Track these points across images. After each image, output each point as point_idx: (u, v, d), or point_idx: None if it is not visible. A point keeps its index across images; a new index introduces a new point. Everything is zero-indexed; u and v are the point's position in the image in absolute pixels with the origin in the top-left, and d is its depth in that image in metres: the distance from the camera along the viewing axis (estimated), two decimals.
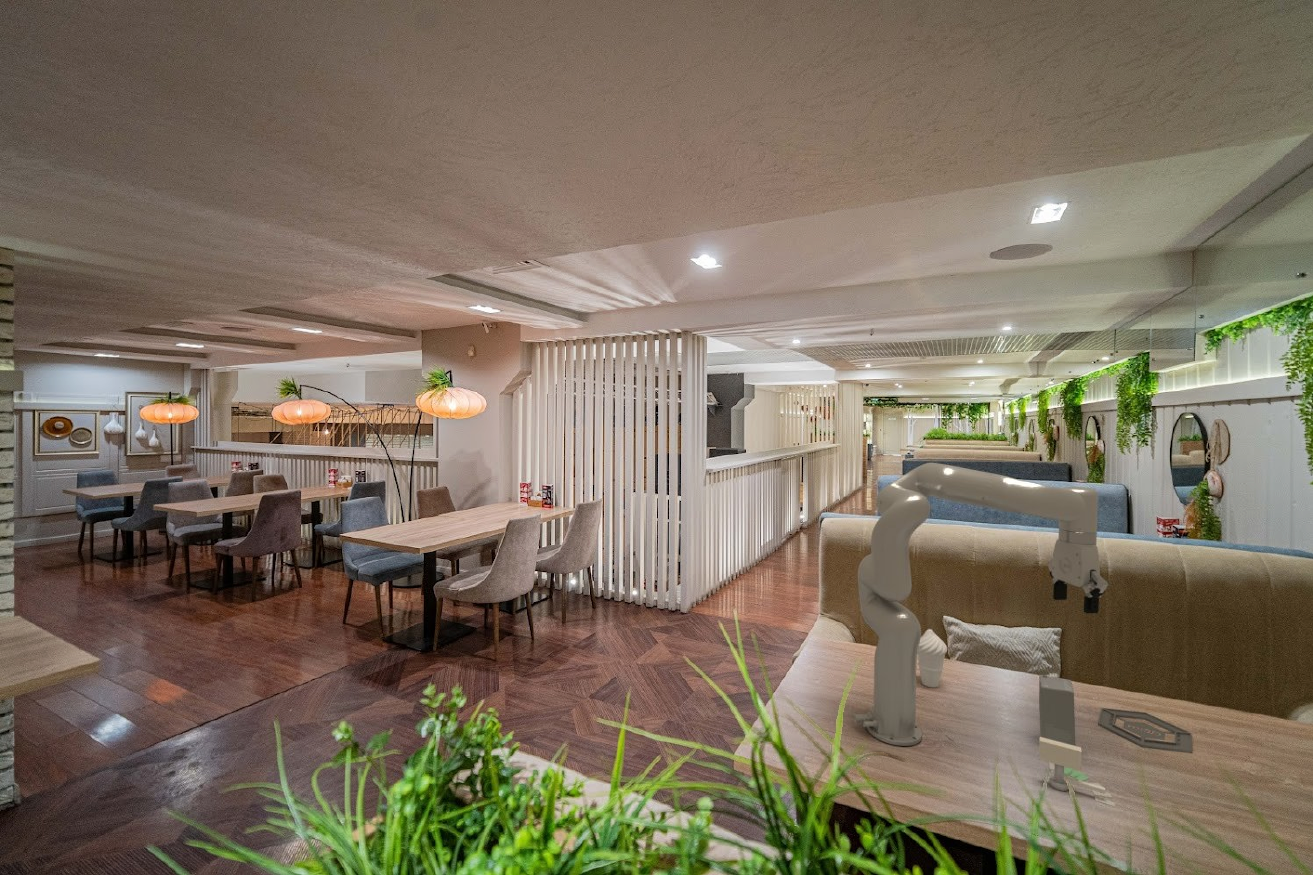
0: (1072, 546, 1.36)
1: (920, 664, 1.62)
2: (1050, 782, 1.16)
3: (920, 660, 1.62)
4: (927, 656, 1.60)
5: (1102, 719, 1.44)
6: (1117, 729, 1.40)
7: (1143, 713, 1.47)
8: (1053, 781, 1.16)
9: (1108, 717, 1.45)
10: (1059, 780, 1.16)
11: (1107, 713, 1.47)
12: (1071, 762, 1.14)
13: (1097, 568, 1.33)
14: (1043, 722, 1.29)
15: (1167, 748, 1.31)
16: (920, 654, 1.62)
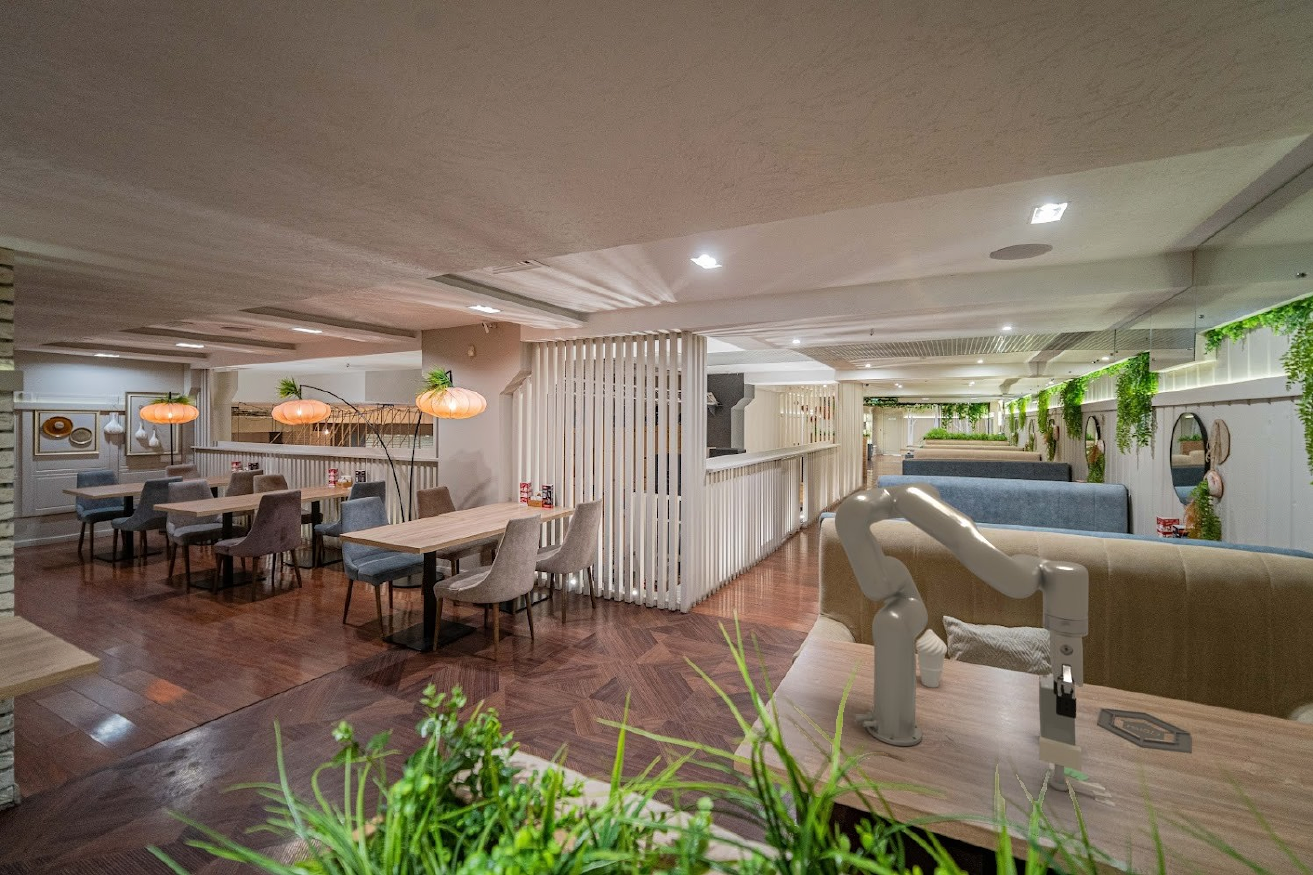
0: None
1: (920, 664, 1.62)
2: (1050, 782, 1.16)
3: (920, 660, 1.62)
4: (927, 656, 1.60)
5: (1101, 719, 1.44)
6: (1116, 729, 1.40)
7: (1143, 713, 1.47)
8: (1053, 781, 1.16)
9: (1107, 717, 1.45)
10: (1059, 780, 1.16)
11: (1106, 713, 1.47)
12: (1071, 762, 1.14)
13: None
14: (1043, 722, 1.29)
15: (1166, 748, 1.31)
16: (920, 654, 1.62)
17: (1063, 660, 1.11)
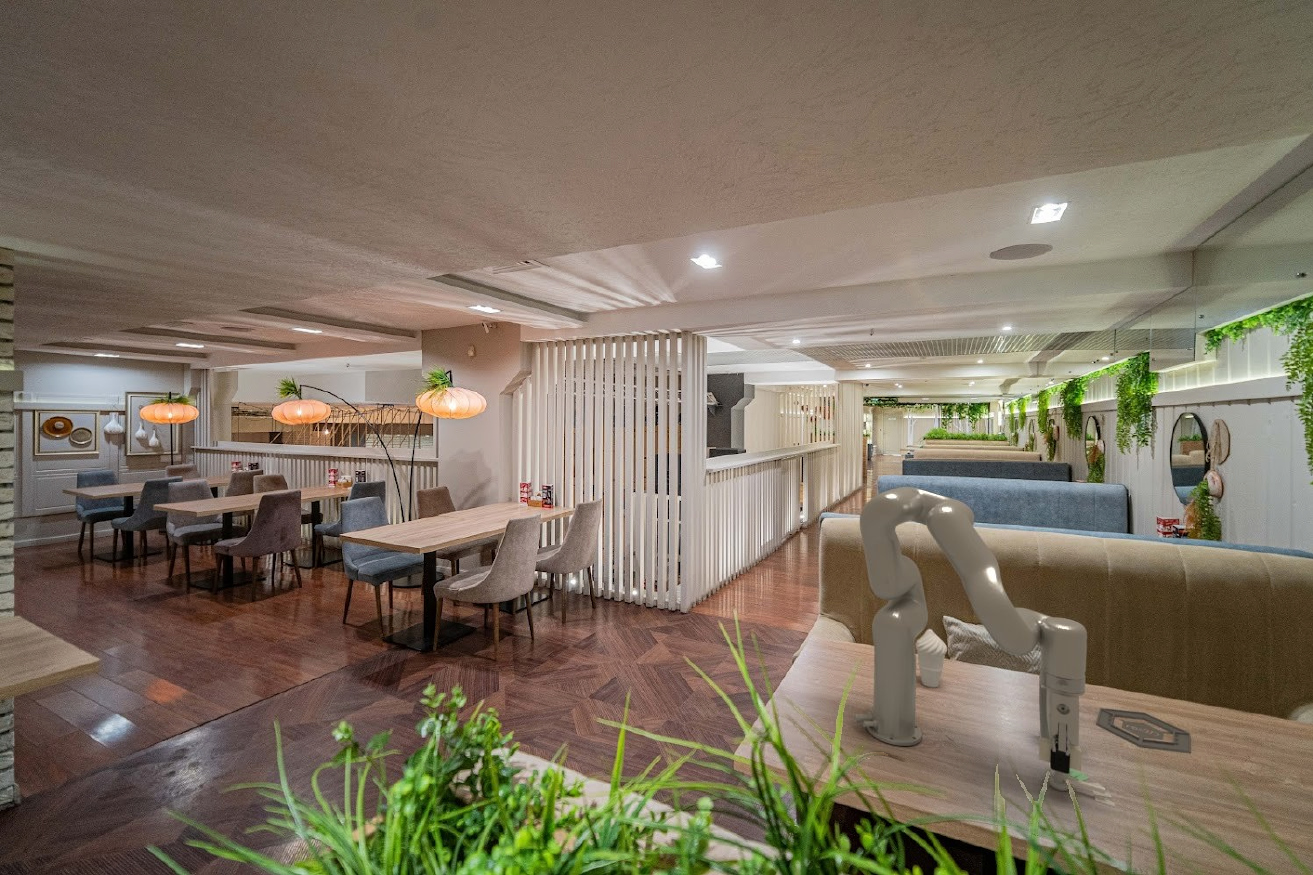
0: None
1: (920, 664, 1.62)
2: (1050, 782, 1.16)
3: (920, 660, 1.62)
4: (927, 656, 1.60)
5: (1100, 719, 1.44)
6: (1115, 729, 1.40)
7: (1142, 713, 1.47)
8: (1053, 781, 1.16)
9: (1107, 717, 1.45)
10: (1059, 780, 1.16)
11: (1106, 713, 1.47)
12: (1071, 762, 1.14)
13: None
14: (1043, 722, 1.29)
15: (1165, 748, 1.31)
16: (920, 654, 1.62)
17: (1060, 719, 1.12)
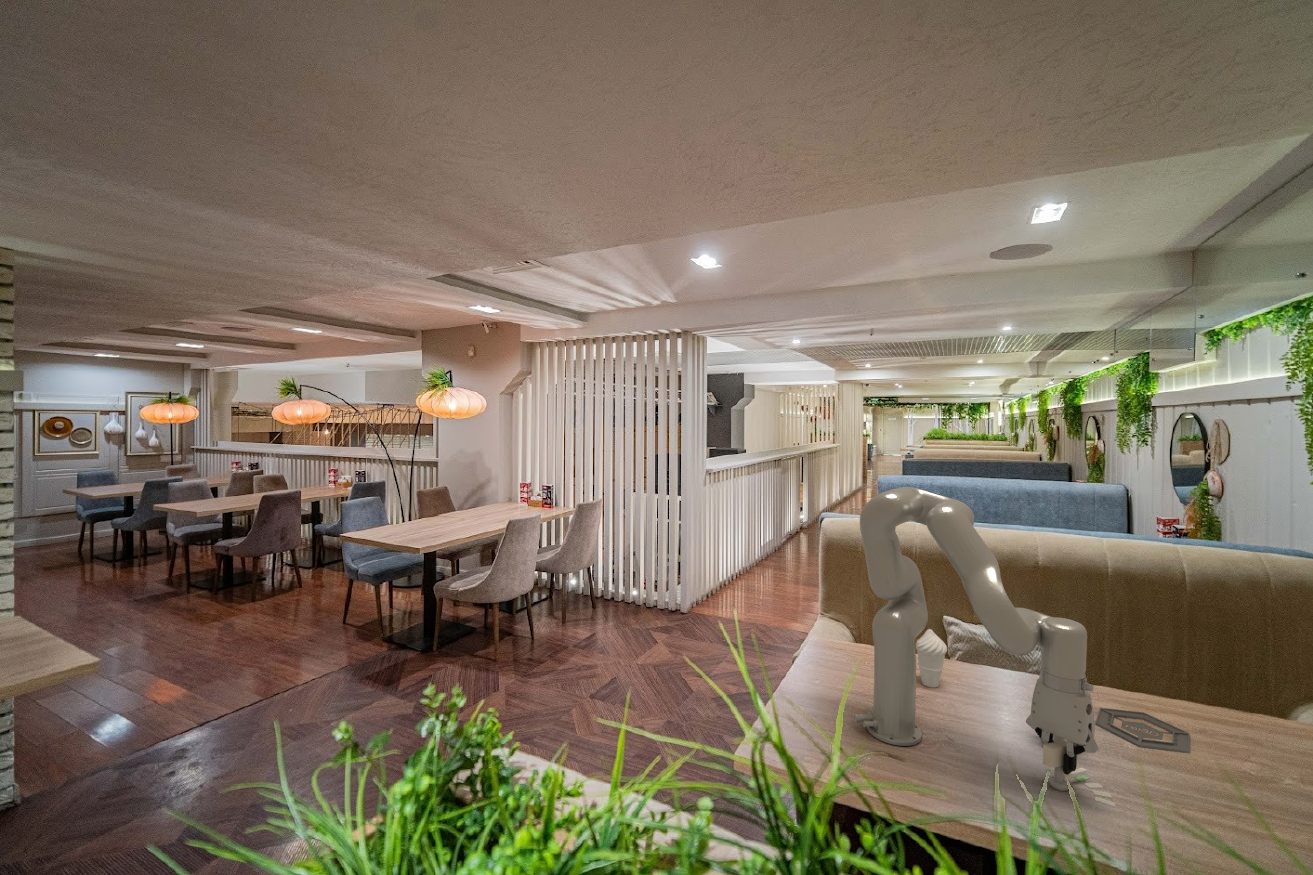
0: None
1: (920, 664, 1.62)
2: (1056, 786, 1.15)
3: (920, 660, 1.62)
4: (927, 656, 1.60)
5: (1100, 719, 1.44)
6: (1115, 729, 1.40)
7: (1142, 713, 1.47)
8: (1058, 784, 1.15)
9: (1106, 717, 1.45)
10: (1062, 780, 1.15)
11: (1105, 713, 1.47)
12: None
13: None
14: None
15: (1164, 748, 1.31)
16: (920, 654, 1.62)
17: (1088, 720, 1.11)
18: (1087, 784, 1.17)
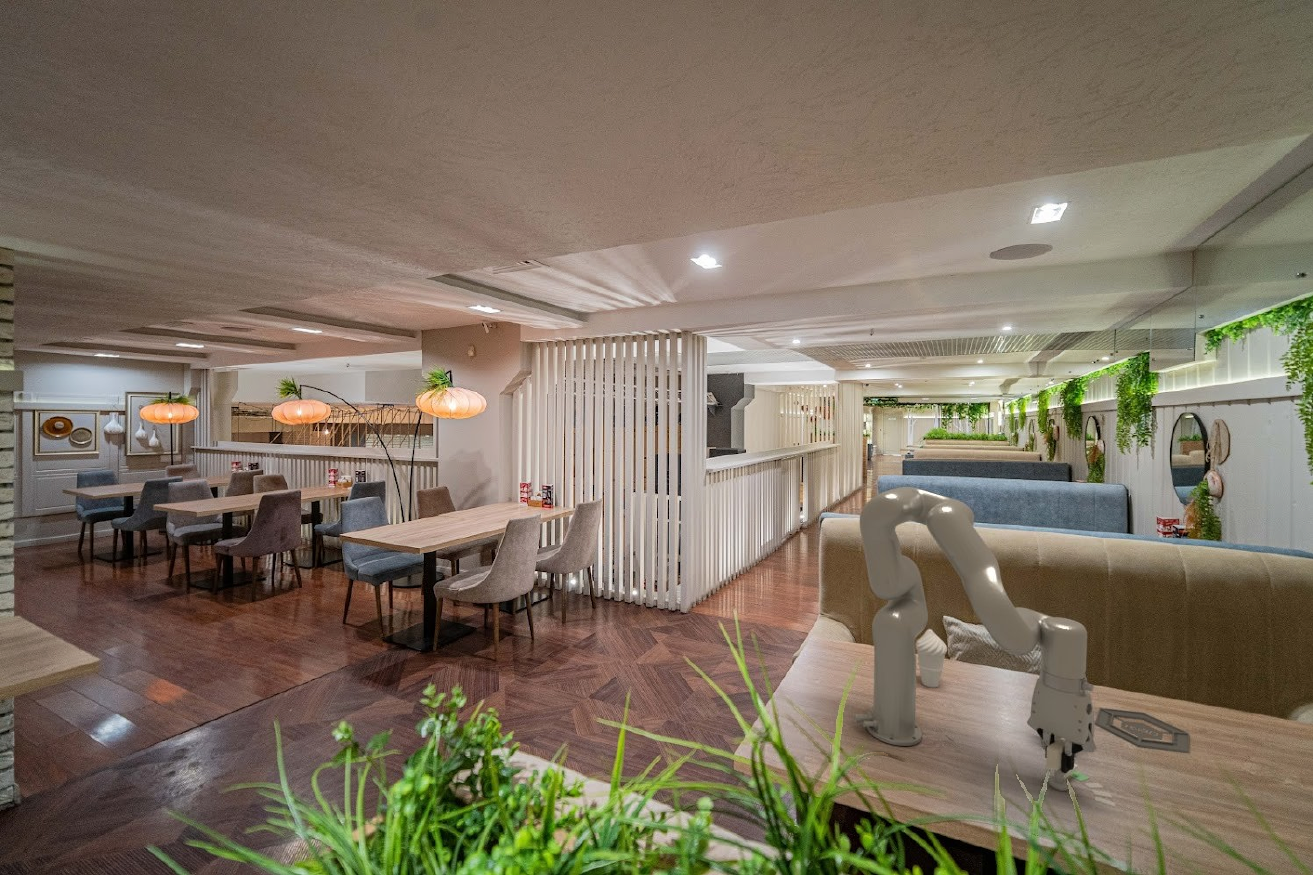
0: None
1: (920, 664, 1.62)
2: (1058, 787, 1.15)
3: (920, 660, 1.62)
4: (927, 656, 1.60)
5: (1099, 719, 1.44)
6: (1114, 729, 1.40)
7: (1142, 713, 1.47)
8: (1060, 784, 1.15)
9: (1106, 717, 1.45)
10: (1063, 780, 1.16)
11: (1105, 713, 1.47)
12: None
13: None
14: None
15: (1164, 748, 1.31)
16: (920, 654, 1.62)
17: (1089, 720, 1.11)
18: (1087, 784, 1.17)
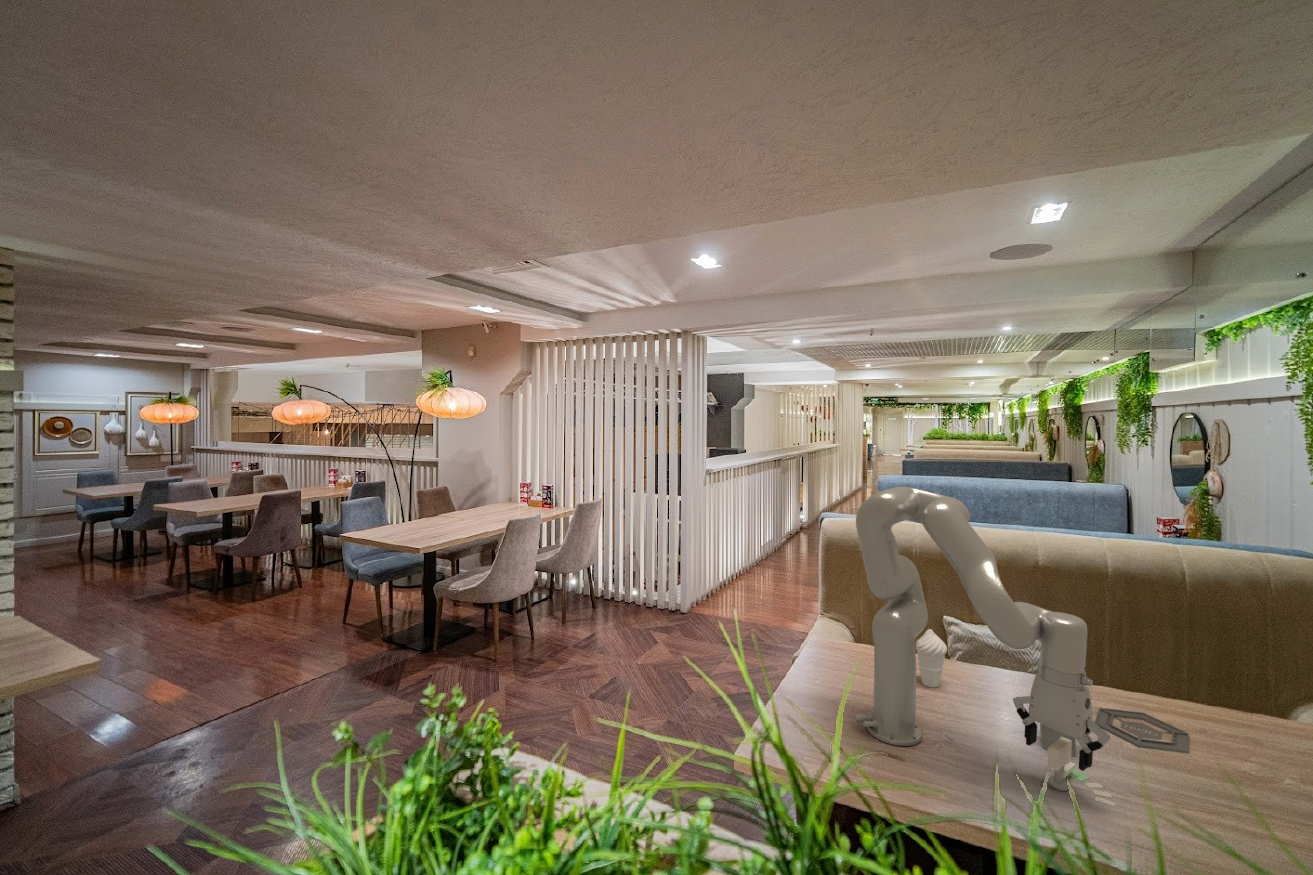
0: None
1: (920, 664, 1.62)
2: (1059, 787, 1.15)
3: (920, 660, 1.62)
4: (927, 656, 1.60)
5: (1099, 718, 1.44)
6: (1114, 729, 1.40)
7: (1141, 713, 1.47)
8: (1060, 784, 1.15)
9: (1105, 717, 1.45)
10: (1063, 780, 1.16)
11: (1104, 713, 1.47)
12: (1068, 755, 1.16)
13: None
14: None
15: (1163, 748, 1.31)
16: (920, 654, 1.62)
17: (1087, 715, 1.11)
18: (1087, 784, 1.17)
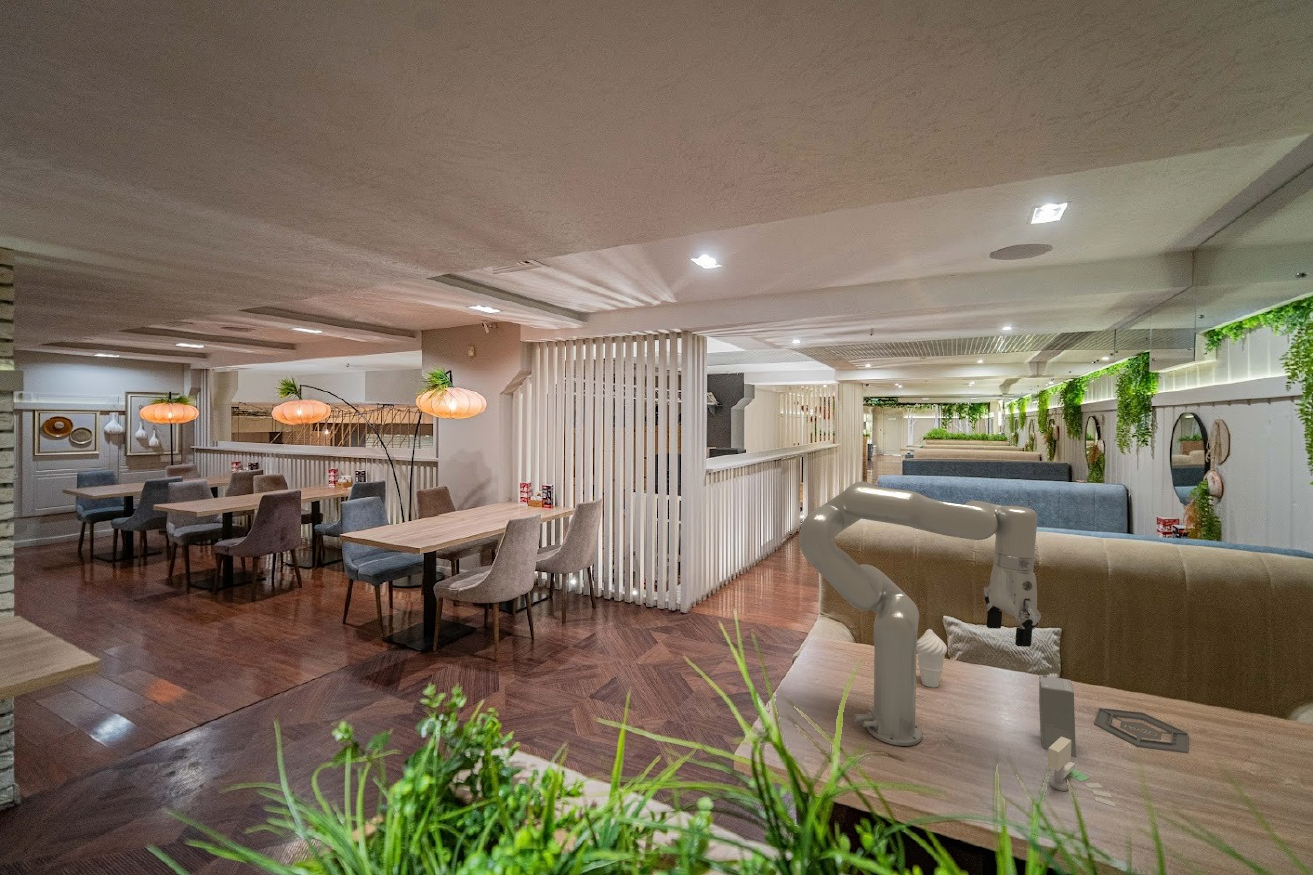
0: None
1: (920, 664, 1.62)
2: (1059, 787, 1.15)
3: (920, 660, 1.62)
4: (927, 656, 1.60)
5: (1098, 719, 1.44)
6: (1113, 729, 1.40)
7: (1141, 713, 1.47)
8: (1061, 784, 1.15)
9: (1105, 717, 1.45)
10: (1063, 780, 1.16)
11: (1104, 713, 1.47)
12: (1068, 755, 1.16)
13: None
14: (1043, 722, 1.29)
15: (1163, 748, 1.31)
16: (920, 654, 1.62)
17: (1025, 595, 1.21)
18: (1087, 784, 1.17)
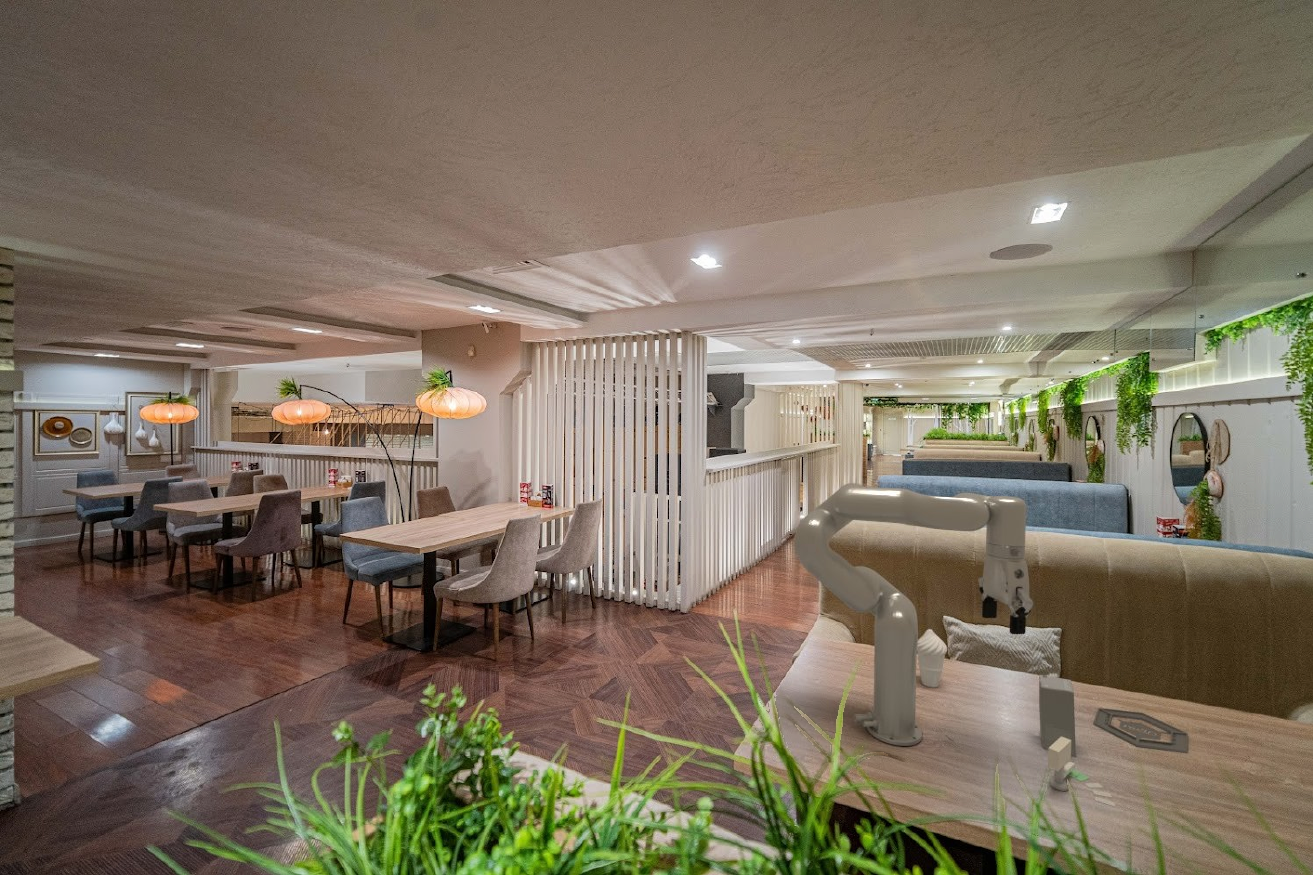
0: None
1: (920, 664, 1.62)
2: (1059, 787, 1.15)
3: (920, 660, 1.62)
4: (927, 656, 1.60)
5: (1098, 719, 1.44)
6: (1113, 729, 1.40)
7: (1140, 713, 1.47)
8: (1061, 784, 1.15)
9: (1104, 717, 1.45)
10: (1063, 780, 1.16)
11: (1104, 713, 1.47)
12: (1068, 755, 1.16)
13: None
14: (1043, 722, 1.29)
15: (1162, 748, 1.31)
16: (920, 654, 1.62)
17: (1017, 584, 1.22)
18: (1087, 784, 1.17)
